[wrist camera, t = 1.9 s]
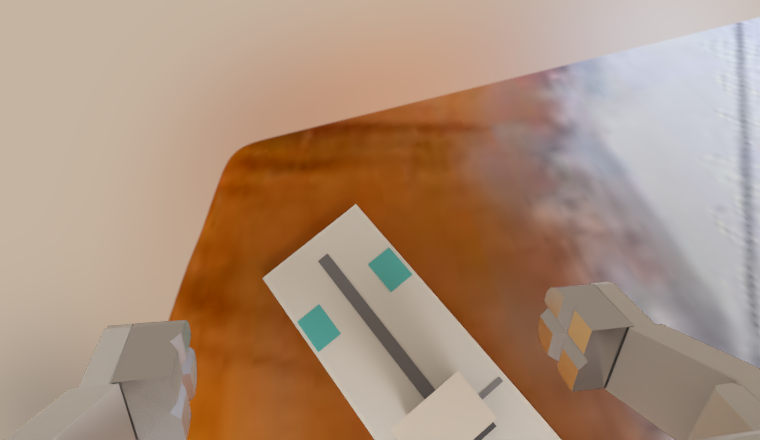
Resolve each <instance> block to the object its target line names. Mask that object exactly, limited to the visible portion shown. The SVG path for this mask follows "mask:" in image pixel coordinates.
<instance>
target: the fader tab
mask: <svg viewBox="0 0 760 440" xmlns="http://www.w3.org/2000/svg"><path fill="white" fill-rule="evenodd" d="M496 419H497V417H496V416H495V414H494V413H493V412H492V411H491V410H490V408H489V407H488V406H487V405H486V404H485V402H484V401H483V400H482V399H481V398H480V396H479V395H478V394H477V393H476V392H475V390H474V389H473V388H472V387H471V386H470V384H469V383H468V382H467V381H466V379H465V378H464V377H463V376H462V375H461V373H460V372H459V371H457V372H456V373H455V374H454V375H452V376H451V377H450V378H449V379H448V380H447V381H446V382H444V383H443V384H442V385H441V386H440V387H439V388H437V389H436V390H435V391H434V392H433V393H432V394H431V395H429V396H428V397H427V398H426V399H425V400H424V401H422V402H421V403H420V404H419V405H418V406H417V407H416V408H414V409H413V410H412V411H411V412H410V413H409V414H407V415H406V416H405V417H404V418H403V419H402V420H400V421H399V422H398V423H397V424H396V425H395V426H394V427H392V428H391V429H390V430H391V431H392V433H393V434H394V435H395V437H396V438H397V440H482V439H483V438H484V437H485V436H486V435H487V434H488V433H490V432H491V431H492V430H493V429H494V428H495V427H496V425H495V424H494V421H495V420H496Z"/></svg>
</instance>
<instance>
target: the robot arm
mask: <svg viewBox="0 0 760 440" xmlns="http://www.w3.org/2000/svg"><path fill="white" fill-rule="evenodd" d="M544 302H545V304H546V306H547V307H548V308H547V309H546V310H545V311H544V313H543V314H542V315H541V316H540V319H539V323H538V335H539V340H540V343H541V345H542V347H543V349H544V351H545V352H546V354H547V355H548V356H550V357H551V358H553V359H555V360H557V361H558V365H557V370H558V372H559V373H560V375H561V376H562V378H563V379H564V381H565V382H566V384H567V385H568V387H569V388H570V390H571V391H581V390H591V389H600V388H606V390H607V391H608V392H609V393H611V394H612V395H614V396H615V397H616V398H618V399H619V400H621V401H622V402H623V403H625V404H626V405H628V406H629V407H630V408H632V409H633V410H634V411H636V412H637V413H639V414H640V415H641V416H643V417H644V418H646V419H647V420H648V421H650V422H651V423H653V424H654V425H655V426H657V427H658V428H660V429H661V430H662V431H664V432H665V433H667V434H668V435H669V436H671V437H672V438H674V439H675V440H760V368H757V367H755V366H753V365H751V364H749V363H746V362H744V361H742V360H740V359H737V358H735V357H733V356H731V355H729V354H726V353H724V352H722V351H720V350H718V349H715V348H713V347H711V346H709V345H707V344H704V343H702V342H700V341H698V340H696V339H693V338H691V337H689V336H687V335H685V334H682V333H680V332H678V331H676V330H673V329H671V328H669V327H667V326H665V325H662V324H657V325H656V324H655V323H653V322H652V321H651V320H650V319H649V318H648V317H647V316H646V315H645V314H644V313H643V312H642V311H641V310H640V309H639V308H638V307H637V306H636V305H635V304H634V303H633V302H632V301H631V300H630V299H629V298H628V297H627V296H626V295H625V294H624V293H623V292H622V291H621V290H620V289H619V288H618V287H617V286H616V285H615V284H614V283H611V282H609V281H606V282H597V283H589V284H583V285H573V286H562V287H552V288H550V289H549V290H548V291H547V292H546V295H545V299H544ZM190 339H191V331H190V327H189V323H188V322H187V321H186V320H179V321H165V322H151V323H137V324H126V325H112V326H108V327H107V328H106V329H105V330H104V331H103V333H102V335H101V337H100V340H99V342H98V344H97V346H96V348H95V351H94V353H93V355H92V357H91V360H90V362H89V364H88V366H87V369H86V371H85V373H84V375H83V378H82V380H81V382H80V384H79V386H78V388H71V389H69V390H68V391H66V392H65V393H63V394H62V395H61V396H60V397H58V398H57V399H56V400H55V401H53V402H52V403H51V404H49V405H48V406H47V407H45V408H44V409H43V410H42V411H40V412H39V413H38V414H37V415H35V416H34V417H33V418H32V419H30V420H29V421H27V422H26V423H25V424H24V425H22V426H21V427H20V428H18V429H17V430H16V431H15V432H13V433H12V434H11V435H9V436H8V437H7V438H6V439H4V440H187V436H188V431H189V425H190V420H191V409H190V405H189V401H190V400H191V399H192V398H193V397H194V396H195V391H196V384H197V364H196V356H195V351H194V350H193V349H192V348H190V347H189V344H190Z"/></svg>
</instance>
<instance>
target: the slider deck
mask: <svg viewBox="0 0 760 440" xmlns="http://www.w3.org/2000/svg"><path fill="white" fill-rule="evenodd" d="M262 279H263V280H264V282H265V283H266V284H267V286H268V287H269V289H270V290H271V292H272V293H273V294H274V296H275V297H276V299H277V300H278V302H279V303H280V305H281V306H282V307H283V309H284V310H285V312H286V313H287V315H288V316H289V317H290V319H291V320H292V322H293V323H294V325H295V326H296V328H297V329H298V330H299V332H300V333H301V335H302V336H303V338H304V339H305V340H306V342H307V343H308V345H309V346H310V348H311V349H312V351H313V352H314V353H315V355H316V356H317V358H318V359H319V361H320V362H321V363H322V365H323V366H324V368H325V369H326V371H327V372H328V374H329V375H330V376H331V378H332V379H333V381H334V382H335V384H336V385H337V386H338V388H339V389H340V391H341V392H342V394H343V395H344V397H345V398H346V399H347V401H348V402H349V404H350V405H351V407H352V408H353V409H354V411H355V412H356V414H357V415H358V417H359V418H360V420H361V421H362V422H363V424H364V425H365V427H366V428H367V430H368V431H369V432H370V434H371V435H372V437H373V438H374V440H397V438H396V437H395V435H394V434H393V433H392V431H391V430H390V429H391V428H392V427H394V426H395V425H396V424H397V423H398V422H399V421H400V420H402V419H403V418H404V417H405V416H406V415H407V414H409V413H410V412H411V411H412V410H413V409H414V408H416V407H417V406H418V405H419V404H420V403H421V402H422V401H424V400H425V399H426V398H427V397H428V396H429V395H431V394H432V393H433V392H434V391H435V390H436V389H437V388H439V387H440V386H441V385H442V384H443V383H444V382H446V381H447V380H448V379H449V378H450V377H451V376H452V375H454V374H455V373H456V372H457V371H459V372H460V373H461V375H462V376H463V377H464V378H465V379H466V381H467V382H468V383H469V384H470V386H471V387H472V388H473V389H474V390H475V392H476V393H477V394H478V395H479V396H480V398H481V399H482V400H483V401H484V402H485V404H486V405H487V406H488V407H489V408H490V410H491V411H492V412H493V413H494V414H495V416H496V417H497V419H496V420H495V421H494V424H495V425H496V427H495V428H494V429H493V430H492V431H491V432H490V433H488V434H487V435H486V436H485V437H484V438H483V439H482V440H561V438H560V437H559V436H558V435H557V434H556V433H555V432H554V430H553V429H552V428H551V427H550V426H549V425H548V424H547V422H546V421H545V420H544V419H543V418H542V417H541V416H540V414H539V413H538V412H537V411H536V410H535V409H534V408H533V406H532V405H531V404H530V403H529V402H528V401H527V400H526V398H525V397H524V396H523V395H522V394H521V393H520V391H519V390H518V389H517V388H516V387H515V386H514V385H513V383H512V382H511V381H510V380H509V379H508V378H507V377H506V375H505V374H504V373H503V372H502V371H501V370H500V369H499V367H498V366H497V365H496V364H495V363H494V362H493V361H492V359H491V358H490V357H489V356H488V355H487V354H486V352H485V351H484V350H483V349H482V348H481V347H480V346H479V344H478V343H477V342H476V341H475V340H474V339H473V338H472V336H471V335H470V334H469V333H468V332H467V331H466V330H465V328H464V327H463V326H462V325H461V324H460V323H459V322H458V320H457V319H456V318H455V317H454V316H453V315H452V314H451V312H450V311H449V310H448V309H447V308H446V307H445V305H444V304H443V303H442V302H441V301H440V300H439V299H438V297H437V296H436V295H435V294H434V293H433V292H432V291H431V289H430V288H429V287H428V286H427V285H426V284H425V283H424V281H423V280H422V279H421V278H420V277H419V276H418V275H417V273H416V272H415V271H414V270H413V269H412V268H411V267H410V265H409V264H408V263H407V262H406V261H405V260H404V258H403V257H402V256H401V255H400V254H399V253H398V252H397V250H396V249H395V248H394V247H393V246H392V245H391V244H390V242H389V241H388V240H387V239H386V238H385V237H384V236H383V234H382V233H381V232H380V231H379V230H378V229H377V228H376V226H375V225H374V224H373V223H372V222H371V221H370V219H369V218H368V217H367V216H366V215H365V214H364V213H363V211H362V210H361V209H360V208H359V207H358V206H357V205H356V204H355V205H354V206H353V207H351V208H350V209H349V210H347V211H346V212H345V213H344V214H342V215H341V216H340V217H339V218H337V219H336V220H335V221H334V222H332V223H331V224H330V225H329V226H327V227H326V228H325V229H323V230H322V231H321V232H320V233H318V234H317V235H316V236H315V237H313V238H312V239H311V240H310V241H308V242H307V243H306V244H305V245H303V246H302V247H301V248H300V249H298V250H297V251H296V252H294V253H293V254H292V255H291V256H289V257H288V258H287V259H286V260H284V261H283V262H282V263H281V264H279V265H278V266H277V267H276V268H274V269H273V270H272V271H270V272H269V273H268V274H267V275H265V276H264V277H263V278H262Z"/></svg>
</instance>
